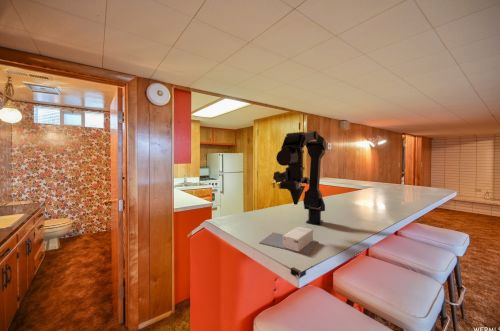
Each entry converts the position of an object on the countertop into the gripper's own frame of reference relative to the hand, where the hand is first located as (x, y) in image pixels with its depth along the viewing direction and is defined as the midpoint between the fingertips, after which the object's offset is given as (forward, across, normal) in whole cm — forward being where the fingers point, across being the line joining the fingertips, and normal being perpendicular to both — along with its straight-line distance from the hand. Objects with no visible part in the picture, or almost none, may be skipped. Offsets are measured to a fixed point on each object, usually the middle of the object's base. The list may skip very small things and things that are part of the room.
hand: (295, 204), depth 81 cm
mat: (+12, +8, 0) cm, 15 cm away
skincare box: (+10, +2, +5) cm, 11 cm away
